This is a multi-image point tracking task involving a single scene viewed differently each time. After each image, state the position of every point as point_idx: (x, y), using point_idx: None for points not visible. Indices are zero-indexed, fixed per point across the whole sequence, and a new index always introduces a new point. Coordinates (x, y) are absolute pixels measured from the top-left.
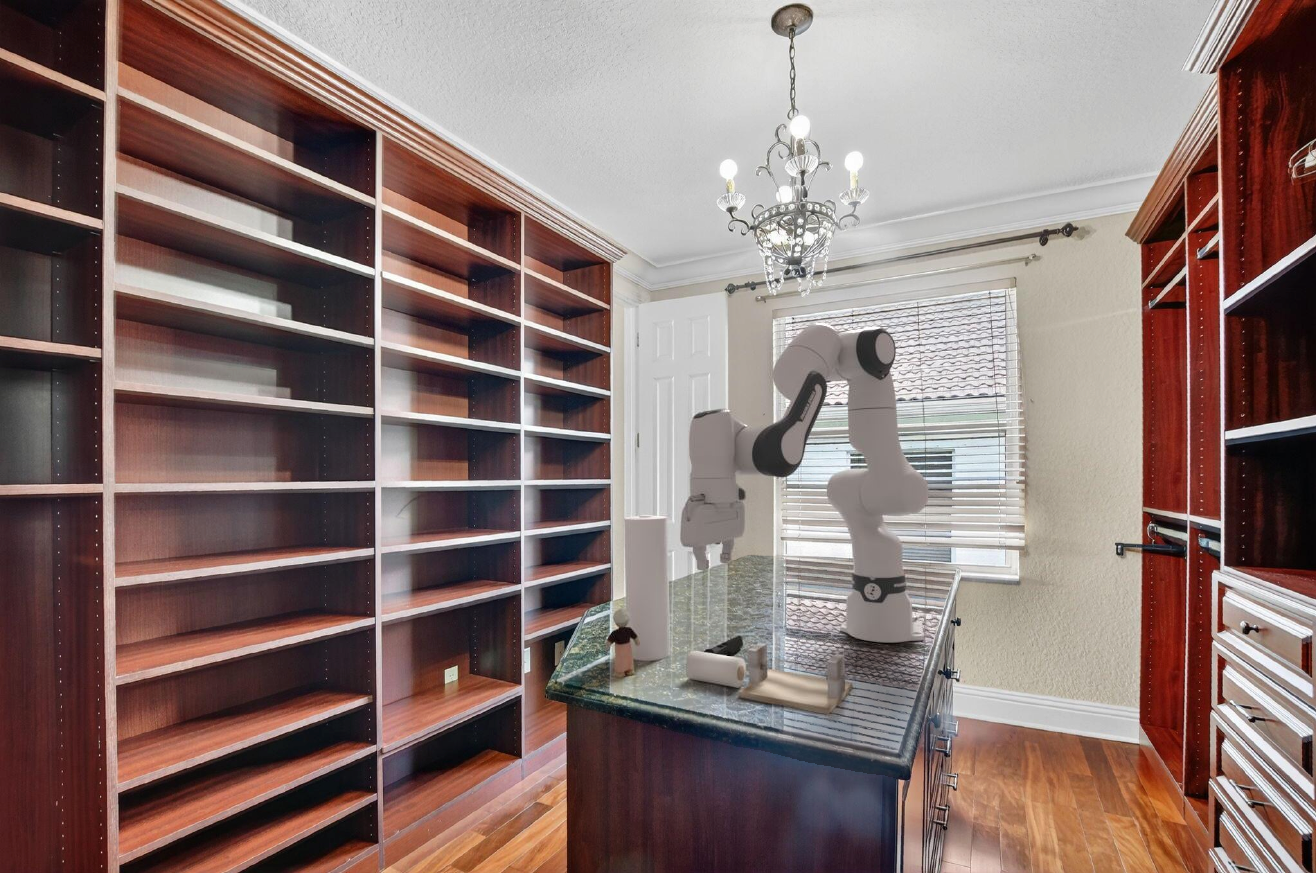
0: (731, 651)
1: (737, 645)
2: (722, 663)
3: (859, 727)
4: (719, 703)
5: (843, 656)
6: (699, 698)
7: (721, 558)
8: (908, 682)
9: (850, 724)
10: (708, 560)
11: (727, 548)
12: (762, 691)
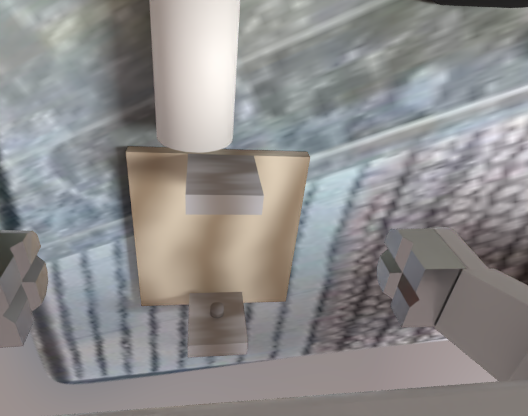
0: (440, 2)
1: (490, 4)
2: (164, 107)
3: (120, 337)
4: (65, 123)
5: (241, 353)
6: (60, 65)
7: (410, 250)
8: (340, 341)
9: (123, 327)
10: (17, 341)
11: (489, 337)
12: (155, 195)
